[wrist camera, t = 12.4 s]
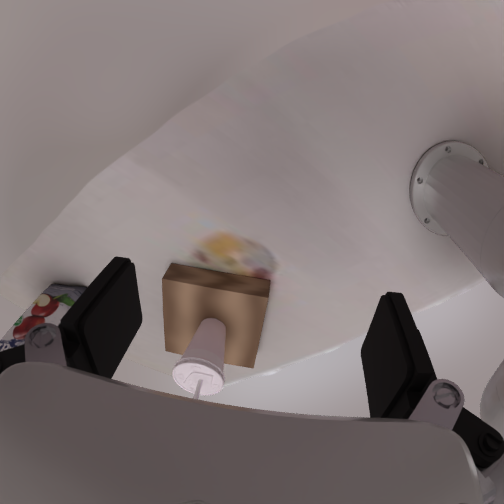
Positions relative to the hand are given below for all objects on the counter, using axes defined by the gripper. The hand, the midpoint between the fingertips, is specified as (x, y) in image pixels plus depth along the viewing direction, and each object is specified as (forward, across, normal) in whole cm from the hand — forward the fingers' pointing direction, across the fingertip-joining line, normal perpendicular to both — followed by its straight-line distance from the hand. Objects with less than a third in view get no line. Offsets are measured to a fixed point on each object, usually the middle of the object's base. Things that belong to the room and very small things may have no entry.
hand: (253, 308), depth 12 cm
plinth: (+28, +7, +24) cm, 37 cm away
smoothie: (+24, +7, +24) cm, 34 cm away
